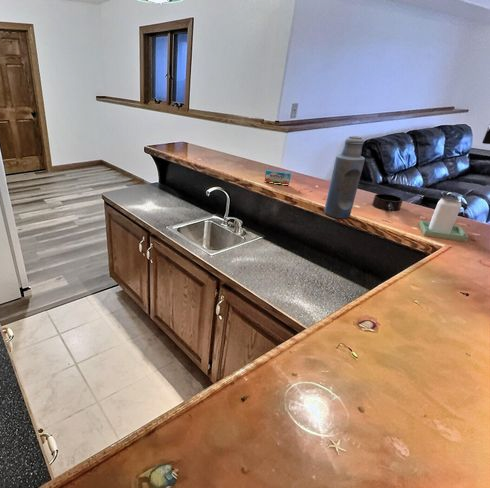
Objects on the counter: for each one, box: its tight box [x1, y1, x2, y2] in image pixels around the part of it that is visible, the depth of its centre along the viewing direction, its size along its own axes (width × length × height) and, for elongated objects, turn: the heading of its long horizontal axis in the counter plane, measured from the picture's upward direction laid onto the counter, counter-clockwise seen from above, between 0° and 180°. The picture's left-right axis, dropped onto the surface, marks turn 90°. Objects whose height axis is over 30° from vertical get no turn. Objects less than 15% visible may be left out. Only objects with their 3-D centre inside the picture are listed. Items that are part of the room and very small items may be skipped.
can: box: [428, 196, 462, 234], centre depth 121 cm, size 6×6×12 cm
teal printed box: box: [264, 169, 292, 186], centre depth 174 cm, size 12×2×6 cm, turn 60°
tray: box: [418, 220, 469, 243], centre depth 123 cm, size 12×10×2 cm
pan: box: [371, 193, 404, 212], centre depth 143 cm, size 10×19×4 cm, turn 156°
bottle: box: [323, 135, 366, 219], centre depth 132 cm, size 10×10×30 cm
